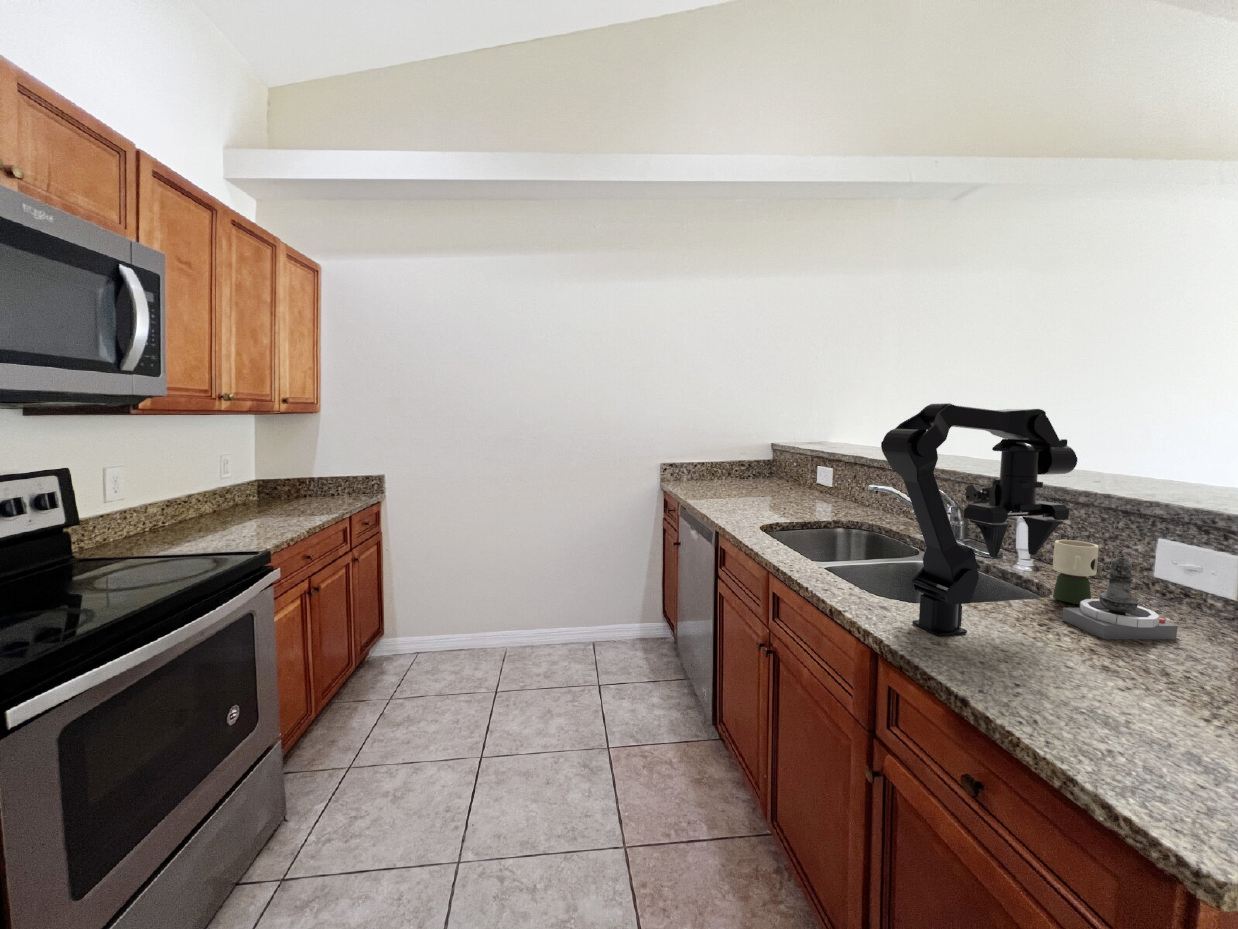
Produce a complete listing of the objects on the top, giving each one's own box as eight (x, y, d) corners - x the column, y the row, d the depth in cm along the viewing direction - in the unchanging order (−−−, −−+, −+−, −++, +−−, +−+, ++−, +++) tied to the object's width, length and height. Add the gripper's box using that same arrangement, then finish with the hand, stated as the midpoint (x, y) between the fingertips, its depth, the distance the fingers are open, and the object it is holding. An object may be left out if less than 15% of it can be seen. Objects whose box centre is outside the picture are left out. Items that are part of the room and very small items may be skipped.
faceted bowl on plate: (1107, 641, 95) (1109, 619, 95) (1059, 618, 105) (1060, 598, 105) (1180, 641, 95) (1182, 619, 95) (1124, 618, 105) (1126, 599, 105)
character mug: (1097, 614, 108) (1102, 551, 107) (1052, 606, 112) (1056, 545, 111) (1090, 599, 117) (1094, 540, 116) (1048, 593, 121) (1052, 536, 120)
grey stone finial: (1088, 613, 102) (1094, 551, 101) (1106, 609, 104) (1112, 548, 103) (1127, 624, 96) (1133, 559, 95) (1145, 619, 98) (1151, 555, 97)
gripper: (1017, 470, 111) (1012, 543, 113) (942, 472, 107) (938, 548, 108) (1074, 476, 100) (1067, 557, 102) (992, 478, 96) (987, 563, 98)
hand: (1012, 556), depth 103 cm, fingers open, 9 cm apart
